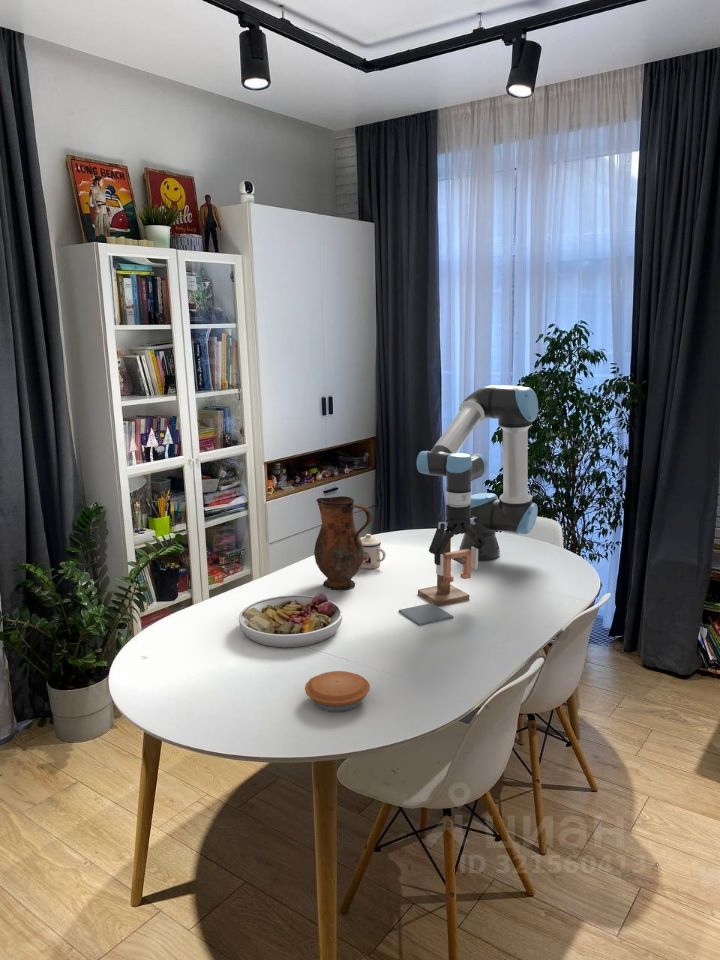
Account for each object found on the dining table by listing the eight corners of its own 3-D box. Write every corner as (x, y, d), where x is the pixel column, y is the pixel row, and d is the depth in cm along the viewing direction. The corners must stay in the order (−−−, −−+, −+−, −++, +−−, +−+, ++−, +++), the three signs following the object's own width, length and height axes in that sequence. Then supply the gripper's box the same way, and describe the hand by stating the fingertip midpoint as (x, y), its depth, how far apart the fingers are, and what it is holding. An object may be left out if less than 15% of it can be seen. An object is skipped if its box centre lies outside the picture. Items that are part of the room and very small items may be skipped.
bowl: (287, 662, 201) (286, 635, 200) (218, 631, 221) (217, 606, 220) (363, 627, 223) (363, 602, 221) (294, 602, 243) (293, 579, 241)
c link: (467, 576, 240) (467, 548, 238) (470, 577, 238) (471, 550, 236) (443, 580, 236) (443, 553, 234) (446, 582, 234) (447, 555, 232)
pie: (373, 715, 174) (373, 695, 173) (305, 719, 173) (305, 699, 172) (367, 683, 189) (366, 665, 188) (304, 686, 188) (304, 668, 187)
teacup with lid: (351, 566, 276) (350, 535, 274) (366, 559, 283) (366, 529, 281) (377, 572, 269) (377, 541, 266) (392, 565, 276) (392, 535, 273)
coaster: (431, 604, 239) (431, 602, 239) (453, 617, 229) (453, 616, 228) (398, 611, 234) (398, 609, 234) (419, 625, 223) (419, 623, 223)
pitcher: (332, 573, 268) (330, 491, 262) (384, 584, 257) (383, 498, 250) (304, 587, 255) (301, 501, 248) (357, 600, 243) (356, 509, 237)
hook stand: (417, 593, 248) (418, 529, 243) (448, 587, 253) (449, 524, 249) (445, 611, 234) (446, 542, 229) (477, 604, 239) (479, 537, 234)
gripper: (431, 512, 223) (430, 581, 228) (498, 502, 234) (496, 568, 239) (417, 506, 230) (417, 573, 234) (483, 497, 241) (481, 561, 245)
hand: (457, 571), depth 237 cm, fingers open, 12 cm apart
